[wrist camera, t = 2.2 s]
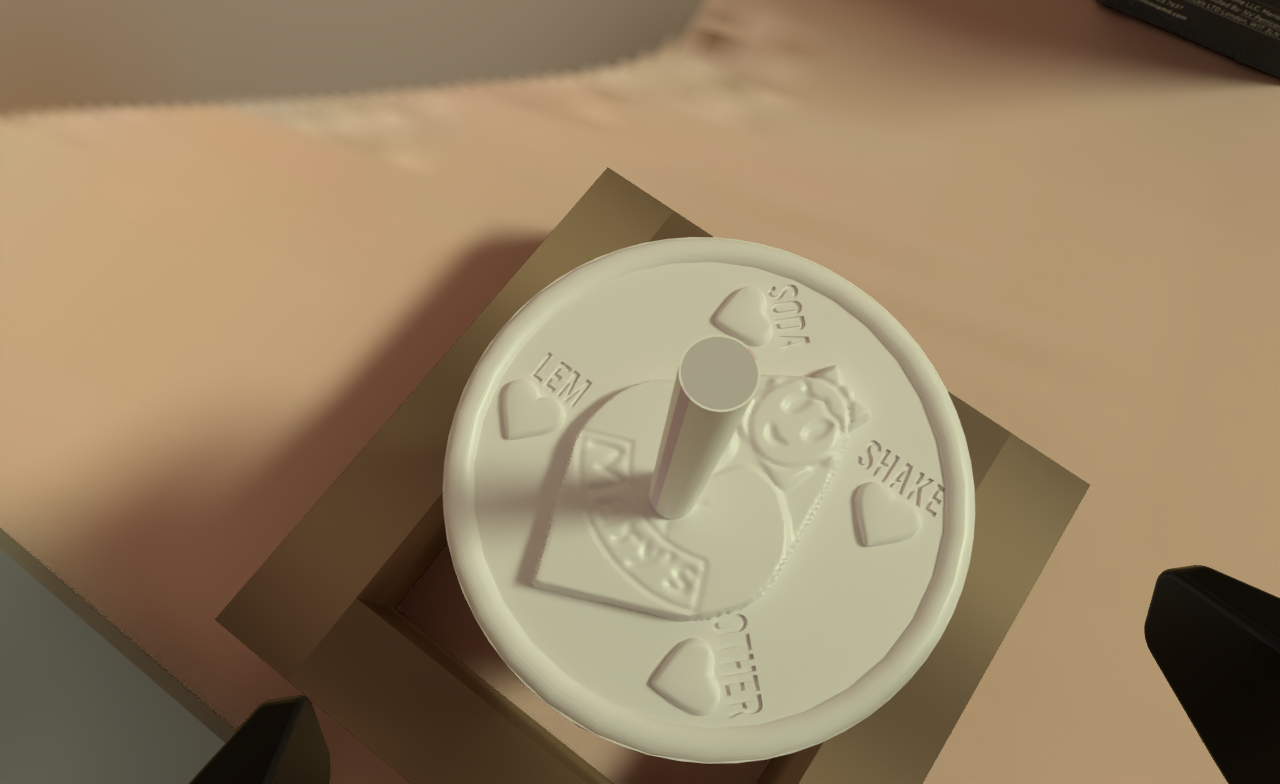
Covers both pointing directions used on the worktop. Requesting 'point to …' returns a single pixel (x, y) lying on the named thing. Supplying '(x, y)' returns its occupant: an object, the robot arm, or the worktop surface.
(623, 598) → the smoothie
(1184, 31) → the small box
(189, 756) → the coaster
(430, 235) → the worktop surface
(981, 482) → the holder
